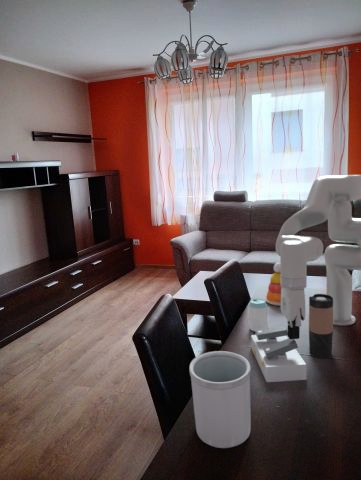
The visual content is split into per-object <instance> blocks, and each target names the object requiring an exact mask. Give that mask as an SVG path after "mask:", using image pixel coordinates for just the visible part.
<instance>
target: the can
mask: <svg viewBox="0 0 361 480" xmlns="http://www.w3.org/2000/svg"><path fill="white" fill-rule="evenodd" d="M248 317H249V318H248V319H249V323H248V324H249V327H248V328H249V330H251V331H252V332H253V333H254V332H255V333H256V330H260V329H266V328H268V304H267V303H266V300H265V299H263V298H252V299H250V302H249V304H248Z"/></svg>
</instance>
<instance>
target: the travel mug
mask: <svg viewBox="0 0 361 480" xmlns="http://www.w3.org/2000/svg"><path fill="white" fill-rule="evenodd" d="M326 294H327V293H326ZM326 294H325V293H315V294H313V295H312V296H309V298H308V299H309V300H308V301H309V302H308V303H309V304H308V341H309V343H308V344H309V348H308V350H309V354H310V355H311V356H312V357H315V358H318V359H319V358H320V359H327V358H330V357H331V356H332V354H333V338H334V335H333V334H334V325H333V297H331V296H329V295H326Z"/></svg>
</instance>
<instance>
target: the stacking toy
mask: <svg viewBox="0 0 361 480" xmlns="http://www.w3.org/2000/svg"><path fill="white" fill-rule="evenodd" d="M273 271H274V272H273V273H272V275H271V276H270V278H269V279H270V280H269V281H270V282H269V284H268V287H267V288H268V289H267V290H268V291H267V292H266V296H265V297H264V300H265V302H267V303H268V304H270V305H274V306H280V307H281V289H282V287H281V261H277V262H275V264H274V265H273Z"/></svg>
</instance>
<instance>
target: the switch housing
mask: <svg viewBox="0 0 361 480" xmlns="http://www.w3.org/2000/svg"><path fill="white" fill-rule="evenodd" d="M288 338H289V337H288V335H287V336H281V337H275V338H269V339H263V340H258V338H257V336H256V334H251V335H250V341H251V342H250V343H251V344H250V345H251V350H252V353H253V356H254V357H255V359H256V362H257V364H258V367H259V369H260V371H261V373H262V375H263V377H264V379H265V382H266V383H277V382H278V383H279V382H290V381H291V382H293V381H306V380H307V363H306V362H305V360H304V359H303V358H302V356H301V355H300V353H299V352H298V351H297V348H296V349H294V350H291V351H288V352H286V353H283V354H281V355H278V356H276V357H273V358H270V359H267V357H266V355H265V353H264V350H263V348H265V347H268V346H271V345H273V344H276V343H278V342H281V341H283V340H286V339H288Z"/></svg>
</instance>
